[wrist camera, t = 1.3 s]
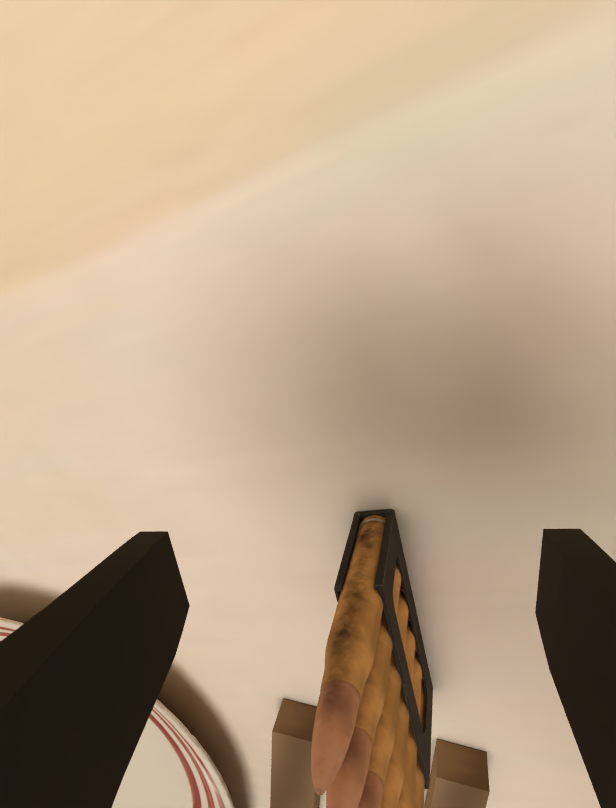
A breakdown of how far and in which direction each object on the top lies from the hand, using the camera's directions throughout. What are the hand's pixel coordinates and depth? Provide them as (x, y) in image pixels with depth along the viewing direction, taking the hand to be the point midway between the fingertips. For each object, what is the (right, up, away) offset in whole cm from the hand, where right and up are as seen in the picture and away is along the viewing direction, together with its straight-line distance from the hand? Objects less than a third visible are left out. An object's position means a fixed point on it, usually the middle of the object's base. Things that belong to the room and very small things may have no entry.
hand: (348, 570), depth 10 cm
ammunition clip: (+4, -7, +15) cm, 17 cm away
